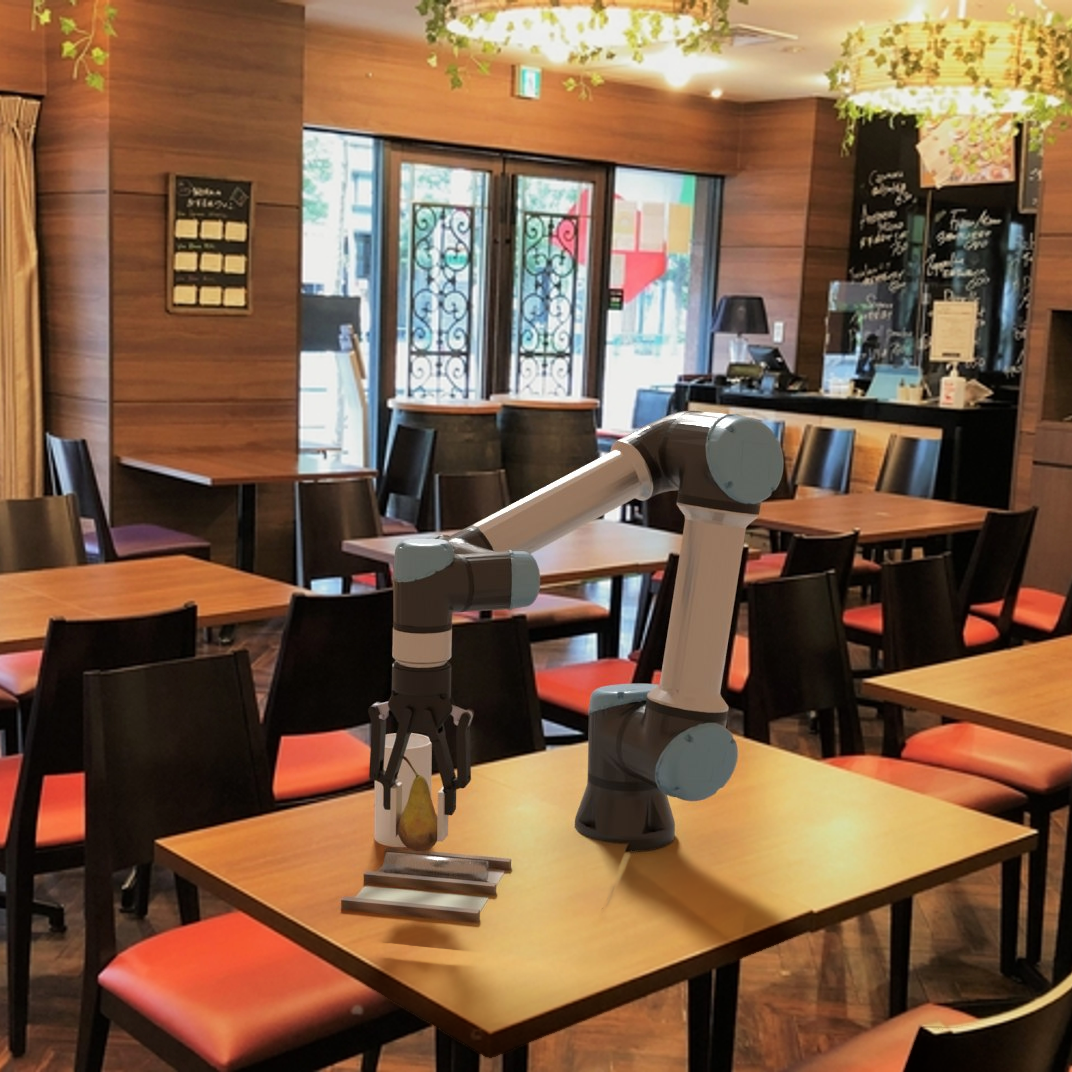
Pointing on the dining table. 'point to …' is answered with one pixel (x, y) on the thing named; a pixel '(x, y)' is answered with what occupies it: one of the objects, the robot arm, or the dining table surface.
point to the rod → (436, 867)
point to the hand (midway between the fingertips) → (419, 835)
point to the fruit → (418, 817)
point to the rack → (426, 901)
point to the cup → (421, 762)
